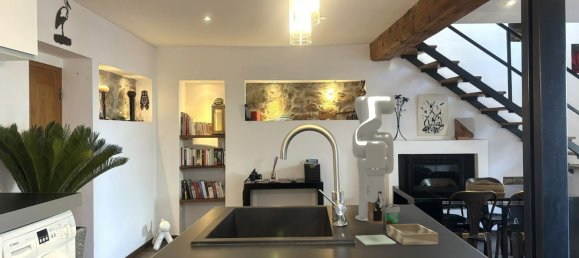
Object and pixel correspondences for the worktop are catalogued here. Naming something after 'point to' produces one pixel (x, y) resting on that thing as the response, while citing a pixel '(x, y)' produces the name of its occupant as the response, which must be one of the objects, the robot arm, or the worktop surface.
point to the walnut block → (370, 214)
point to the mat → (375, 239)
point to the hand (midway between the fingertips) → (375, 219)
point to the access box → (412, 234)
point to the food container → (391, 214)
